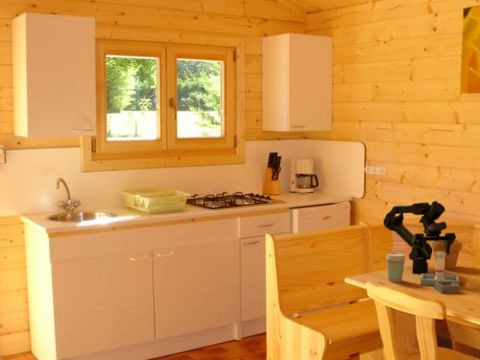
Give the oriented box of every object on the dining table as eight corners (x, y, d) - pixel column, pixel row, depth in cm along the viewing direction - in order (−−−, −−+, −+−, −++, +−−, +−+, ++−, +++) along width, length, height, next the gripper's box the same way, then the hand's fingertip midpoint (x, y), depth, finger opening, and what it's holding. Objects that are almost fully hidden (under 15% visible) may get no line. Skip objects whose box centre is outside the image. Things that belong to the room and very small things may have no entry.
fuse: (434, 282, 292) (435, 252, 291) (434, 279, 296) (435, 251, 295) (444, 282, 291) (445, 253, 290) (444, 280, 295) (445, 251, 294)
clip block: (434, 288, 285) (434, 281, 285) (452, 287, 286) (452, 280, 286) (441, 293, 277) (441, 286, 277) (460, 292, 278) (460, 285, 278)
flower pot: (437, 262, 334) (438, 236, 333) (465, 266, 325) (466, 240, 324) (425, 267, 323) (426, 241, 322) (454, 271, 314) (455, 244, 313)
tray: (420, 284, 291) (420, 279, 291) (421, 278, 301) (421, 273, 301) (459, 287, 286) (459, 281, 286) (458, 281, 297) (458, 275, 296)
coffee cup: (406, 279, 300) (407, 253, 299) (402, 284, 293) (403, 257, 291) (387, 277, 304) (388, 251, 303) (383, 282, 296) (383, 255, 295)
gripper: (414, 215, 297) (423, 245, 287) (455, 214, 299) (464, 244, 289) (408, 230, 306) (416, 259, 296) (447, 229, 307) (456, 258, 297)
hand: (438, 254), depth 294 cm, fingers open, 9 cm apart
